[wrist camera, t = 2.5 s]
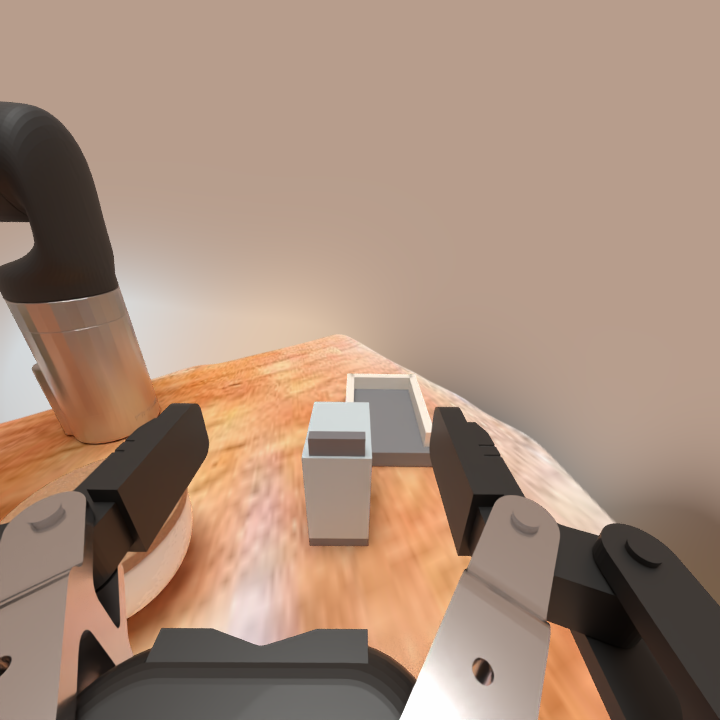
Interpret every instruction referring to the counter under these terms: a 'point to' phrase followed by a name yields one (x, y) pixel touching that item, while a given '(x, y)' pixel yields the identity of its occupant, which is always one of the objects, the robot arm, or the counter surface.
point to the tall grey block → (338, 474)
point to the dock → (393, 428)
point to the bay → (395, 382)
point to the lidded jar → (140, 568)
